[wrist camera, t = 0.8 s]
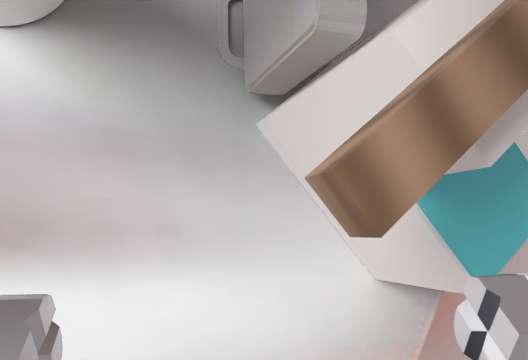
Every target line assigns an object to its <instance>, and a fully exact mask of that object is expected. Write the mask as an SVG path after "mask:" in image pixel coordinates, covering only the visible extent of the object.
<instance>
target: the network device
mask: <svg viewBox="0 0 528 360" xmlns="http://www.w3.org/2000/svg"><path fill="white" fill-rule="evenodd" d="M230 1H232V0H218V45H219V50H220V53H221V55H222V56H223V58H224V60H225V61H226V62H227V63H228V64H229V65H231V66H232V67H234V68H236V69H238V70H243V71H244V85H245V90H246V92H247V93H258V94H272V95H284V94H286V93H287V92H288V91H290V90H291V89H292V88H294V87H295V86H296V85H298V84H299V83H301V82H302V81H303V80H305V79H306V78H307V77H309V76H310V75H311V74H313V73H314V72H315V71H317V70H318V69H320V68H321V67H322V66H324V65H325V64H326V63H328V62H329V61H330V60H332V59H333V58H335V57H336V56H337V55H339V54H340V53H341V52H343V51H344V50H345V49H347V48H348V47H349V46H351V45H352V44H354V43H355V42H356V41H357V40H358V39H359V38H360V37H361V35H362V33H363V31H364V28H365V25H366V21H367V0H243V37H244V58H241V57H237V56H235V55H233V54H232V53H231V51H230V49H229V44H228V3H229V2H230Z"/></svg>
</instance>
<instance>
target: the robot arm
mask: <svg viewBox="0 0 528 360" xmlns="http://www.w3.org/2000/svg"><path fill="white" fill-rule="evenodd" d="M63 1H64V0H0V26H14V25H21V24H25V23H29V22H32V21H35V20H37V19H40V18H42V17H44V16H46V15H47V14H49V13H51V12H52V11H53V10H55V9H56V8H57V7H58V6H59V5H60V4H61V3H62V2H63ZM462 291H463V293H464V295H465V297H466V298H467V299H466V300H465V301H463V302H462V303H461V304H460V305H459V306H458V307H457V309H456V313H455V316H454V333H455V336H456V339H457V342H458V344H459V346H460V348H461V350H462V352H463V353H464V354H465V355H467V356H468V357H469V358H471V359H472V360H528V273H518V274H502V275H483V276H470V277H469V278H468V279H467V280H466V281H465V284H464V287H463V290H462ZM55 310H56V309H55V306H54V302H53V299H52V296H50V295H48V294H32V295H0V360H61V357H62V335H61V331H60V327H59V326H58V325H57V324H55V323H54V322H53V321H52V318H53V315H54V313H55Z"/></svg>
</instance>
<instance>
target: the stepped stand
mask: <svg viewBox="0 0 528 360" xmlns="http://www.w3.org/2000/svg"><path fill="white" fill-rule="evenodd" d="M503 1H504V0H419V1H418V2H416V3H415V4H413V5H412V6H411V7H409V8H408V9H406V10H405V11H404V12H402V13H401V14H400V15H398V16H397V17H395V18H394V19H393V20H391V21H390V22H388V23H387V24H386V25H384V26H383V27H381V28H380V29H379V30H377V31H376V32H375V33H373V34H372V35H370V36H369V37H368V38H366V39H365V40H363V41H362V42H361V43H359V44H358V45H356V46H355V47H354V48H352V49H351V50H350V51H348V52H347V53H345V54H344V55H343V56H341V57H340V58H338V59H337V60H336V61H334V62H333V63H331V64H330V65H329V66H328V67H326V68H325V69H324V70H323V71H321V72H320V73H319V74H318V75H316V76H315V77H314V78H313V79H311V80H310V81H309V82H308V83H306V84H305V85H304V86H303V87H301V88H300V89H299V90H298V91H296V92H295V93H294V94H293V95H291V96H290V97H289V98H288V99H286V100H285V101H284V102H283V103H281V104H280V105H279V106H278V107H276V108H275V109H274V110H273V111H271V112H270V113H269V114H268V115H266V116H265V117H264V118H263V119H261V120H260V121H259V122H258V123H256V124H255V125H256V127H257V128H258V129H259V130H260V132H261V133H262V134H263V136H264V137H265V138H266V139H267V141H268V142H269V143H270V145H271V146H272V147H273V149H274V150H275V151H276V152H277V154H278V155H279V156H280V158H281V159H282V160H283V161H284V163H285V164H286V165H287V167H288V168H289V169H290V171H291V172H292V173H293V174H294V176H295V177H296V178H297V180H298V181H299V182H300V183H301V185H302V186H303V187H304V189H305V190H306V191H307V192H308V194H309V195H310V196H311V198H312V199H313V200H314V202H315V203H316V204H317V205H318V207H319V208H320V209H321V211H322V212H323V213H324V214H325V216H326V217H327V218H328V220H329V221H330V222H331V224H332V225H333V226H334V227H335V229H336V230H337V231H338V233H339V234H340V235H341V236H342V238H343V239H344V240H345V242H346V243H347V244H348V245H349V247H350V248H351V249H352V251H353V252H354V253H355V255H356V256H357V257H358V258H359V260H360V261H361V262H362V264H363V265H364V266H365V267H366V269H367V270H368V271H369V273H370V274H371V275H372V276H373V278H374V279H376V280H382V281H388V282H394V283H400V284H406V285H412V286H418V287H424V288H430V289H436V290H442V291H449V292H454V293H460V294H464V293H463V291H462V290H463V287H464V284H465V281H466V280H467V279H468V278H469V277H470V276H483V275H498V273H499V272H500V271H501V270H502V269H503V268H504V266H505V265H506V264H507V263H508V262H509V260H510V259H511V258H512V257H513V256H514V255H515V253H516V252H517V251H518V250H519V249H520V247H521V246H522V245H523V244H524V243H525V241H526V240H527V239H528V161H527V160H526V158H525V157H524V155H523V154H522V152H521V151H520V149H519V148H518V147H517V145H516V144H515V141H516V139H518V137H519V136H520V135H521V134H522V133H523V132H524V131H525V130H526V129H527V128H528V90H527V91H526V92H525V93H524V94H523V95H522V96H521V97H520V98H519V99H518V100H517V101H516V102H515V103H514V104H513V105H512V106H511V107H510V108H509V109H508V110H507V111H506V112H505V113H504V114H503V115H502V116H501V117H500V118H499V119H498V120H497V121H496V122H495V123H494V124H493V125H492V126H491V127H490V128H489V129H488V130H487V131H486V132H485V133H484V134H483V135H482V136H481V137H480V138H479V139H478V140H477V141H476V142H475V143H474V144H473V145H472V146H471V147H470V148H469V149H468V150H467V152H466V153H465V154H464V155H463V156H462V157H461V158H460V159H459V160H458V161H457V162H456V163H455V164H454V165H453V166H452V167H451V168H450V169H449V170H448V171H447V172H446V173H445V174H444V175H443V176H442V177H441V178H440V179H439V180H438V181H437V182H436V183H435V184H434V185H433V186H432V187H431V188H430V189H429V190H428V191H427V192H426V193H425V194H424V195H423V196H422V197H421V198H420V199H419V200H418V201H417V202H416V203H415V204H414V205H413V206H412V207H411V208H410V209H409V210H408V211H407V212H406V213H405V214H404V215H403V216H402V217H401V218H400V219H399V220H398V221H397V222H396V224H395V225H394V226H393V227H392V228H391V229H390V230H389V231H388V232H387V233H386V234H385V235H384V236H383V237H382V238H364V237H349V235H348V234H347V233H346V231H345V230H344V229H343V228H342V226H341V225H340V224H339V222H338V221H337V220H336V218H335V217H334V216H333V215H332V213H331V212H330V211H329V209H328V208H327V207H326V205H325V204H324V203H323V202H322V200H321V199H320V198H319V196H318V195H317V194H316V192H315V191H314V190H313V189H312V187H311V186H310V185H309V183H308V182H307V181H306V180H305V177H306V176H307V175H308V174H309V173H310V172H311V171H313V170H314V169H315V168H316V167H317V166H318V165H319V164H320V163H322V162H323V161H324V160H325V159H326V158H327V157H328V156H329V155H331V154H332V153H333V152H334V151H335V150H336V149H337V148H339V147H340V146H341V145H342V144H343V143H344V142H345V141H346V140H348V139H349V138H350V137H351V136H352V135H353V134H354V133H355V132H357V131H358V130H359V129H360V128H361V127H362V126H363V125H364V124H366V123H367V122H368V121H369V120H370V119H371V118H372V117H374V116H375V115H376V114H377V113H378V112H379V111H380V110H381V109H383V108H384V107H385V106H386V105H387V104H388V103H389V102H390V101H392V100H393V99H394V98H395V97H396V96H397V95H398V94H399V93H401V92H402V91H403V90H404V89H405V88H406V87H407V86H409V85H410V84H411V83H412V82H413V81H414V80H415V79H416V78H418V77H419V76H420V75H421V74H422V73H423V72H424V71H425V70H427V69H428V68H429V67H430V66H431V65H432V64H433V63H434V62H436V61H437V60H438V59H439V58H440V57H441V56H442V55H444V54H445V53H446V52H447V51H448V50H449V49H450V48H451V47H453V46H454V45H455V44H456V43H457V42H458V41H459V40H460V39H462V38H463V37H464V36H465V35H466V34H467V33H468V32H469V31H471V30H472V29H473V28H474V27H475V26H476V25H477V24H479V23H480V22H481V21H482V20H483V19H484V18H485V17H486V16H488V15H489V14H490V13H491V12H492V11H493V10H494V9H495V8H497V7H498V6H499V5H500V4H501V3H502V2H503Z"/></svg>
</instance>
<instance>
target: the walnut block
mask: <svg viewBox="0 0 528 360" xmlns="http://www.w3.org/2000/svg"><path fill="white" fill-rule="evenodd" d="M527 90H528V0H504V1H503V2H502V3H501V4H500V5H499V6H498V7H497V8H495V9H494V10H493V11H492V12H491V13H490V14H489V15H488V16H486V17H485V18H484V19H483V20H482V21H481V22H480V23H479V24H477V25H476V26H475V27H474V28H473V29H472V30H471V31H469V32H468V33H467V34H466V35H465V36H464V37H463V38H462V39H460V40H459V41H458V42H457V43H456V44H455V45H454V46H453V47H451V48H450V49H449V50H448V51H447V52H446V53H445V54H444V55H442V56H441V57H440V58H439V59H438V60H437V61H436V62H434V63H433V64H432V65H431V66H430V67H429V68H428V69H427V70H425V71H424V72H423V73H422V74H421V75H420V76H419V77H418V78H416V79H415V80H414V81H413V82H412V83H411V84H410V85H409V86H407V87H406V88H405V89H404V90H403V91H402V92H401V93H399V94H398V95H397V96H396V97H395V98H394V99H393V100H392V101H390V102H389V103H388V104H387V105H386V106H385V107H384V108H383V109H381V110H380V111H379V112H378V113H377V114H376V115H375V116H374V117H372V118H371V119H370V120H369V121H368V122H367V123H366V124H364V125H363V126H362V127H361V128H360V129H359V130H358V131H357V132H355V133H354V134H353V135H352V136H351V137H350V138H349V139H348V140H346V141H345V142H344V143H343V144H342V145H341V146H340V147H339V148H337V149H336V150H335V151H334V152H333V153H332V154H331V155H329V156H328V157H327V158H326V159H325V160H324V161H323V162H322V163H320V164H319V165H318V166H317V167H316V168H315V169H314V170H313V171H311V172H310V173H309V174H308V175H307V176H306V177H305V180H306V181H307V182H308V183H309V185H310V186H311V187H312V189H313V190H314V191H315V192H316V194H317V195H318V196H319V198H320V199H321V200H322V202H323V203H324V204H325V205H326V207H327V208H328V209H329V211H330V212H331V213H332V215H333V216H334V217H335V218H336V220H337V221H338V222H339V224H340V225H341V226H342V228H343V229H344V230H345V231H346V233H347V234H348V235H349V237H364V238H382V237H383V236H384V235H385V234H386V233H387V232H388V231H389V230H390V229H391V228H392V227H393V226H394V225H395V224H396V222H397V221H398V220H399V219H400V218H401V217H402V216H403V215H404V214H405V213H406V212H407V211H408V210H409V209H410V208H411V207H412V206H413V205H414V204H415V203H416V202H417V201H418V200H419V199H420V198H421V197H422V196H423V195H424V194H425V193H426V192H427V191H428V190H429V189H430V188H431V187H432V186H433V185H434V184H435V183H436V182H437V181H438V180H439V179H440V178H441V177H442V176H443V175H444V174H445V173H446V172H447V171H448V170H449V169H450V168H451V167H452V166H453V165H454V164H455V163H456V162H457V161H458V160H459V159H460V158H461V157H462V156H463V155H464V154H465V153H466V152H467V150H468V149H469V148H470V147H471V146H472V145H473V144H474V143H475V142H476V141H477V140H478V139H479V138H480V137H481V136H482V135H483V134H484V133H485V132H486V131H487V130H488V129H489V128H490V127H491V126H492V125H493V124H494V123H495V122H496V121H497V120H498V119H499V118H500V117H501V116H502V115H503V114H504V113H505V112H506V111H507V110H508V109H509V108H510V107H511V106H512V105H513V104H514V103H515V102H516V101H517V100H518V99H519V98H520V97H521V96H522V95H523V94H524V93H525V92H526V91H527Z"/></svg>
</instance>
